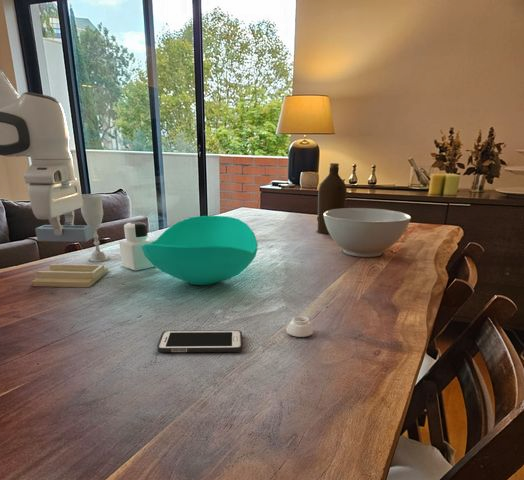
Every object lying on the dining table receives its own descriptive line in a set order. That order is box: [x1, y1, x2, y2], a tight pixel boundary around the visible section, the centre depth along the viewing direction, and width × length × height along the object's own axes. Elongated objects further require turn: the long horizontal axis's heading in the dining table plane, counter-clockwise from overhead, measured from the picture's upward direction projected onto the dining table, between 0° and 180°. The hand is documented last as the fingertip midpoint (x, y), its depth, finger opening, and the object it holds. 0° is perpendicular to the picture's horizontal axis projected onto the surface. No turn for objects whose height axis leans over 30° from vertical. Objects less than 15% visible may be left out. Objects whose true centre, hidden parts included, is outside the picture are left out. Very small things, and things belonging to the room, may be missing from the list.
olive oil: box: [316, 162, 348, 235], centre depth 174 cm, size 11×11×25 cm
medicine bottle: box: [119, 221, 156, 271], centre depth 127 cm, size 7×7×12 cm
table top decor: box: [142, 215, 259, 286], centre depth 114 cm, size 40×28×13 cm
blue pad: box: [34, 224, 94, 243], centre depth 113 cm, size 12×5×3 cm, turn 89°
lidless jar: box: [286, 315, 314, 338], centre depth 87 cm, size 5×3×5 cm
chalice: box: [80, 194, 109, 262], centre depth 132 cm, size 7×7×18 cm
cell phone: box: [156, 329, 243, 353], centre depth 82 cm, size 8×15×1 cm, turn 93°
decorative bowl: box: [324, 207, 412, 258], centre depth 146 cm, size 27×27×12 cm
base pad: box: [31, 263, 109, 288], centre depth 117 cm, size 14×14×3 cm
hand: (64, 232), depth 113 cm, fingers closed on blue pad, 5 cm apart
